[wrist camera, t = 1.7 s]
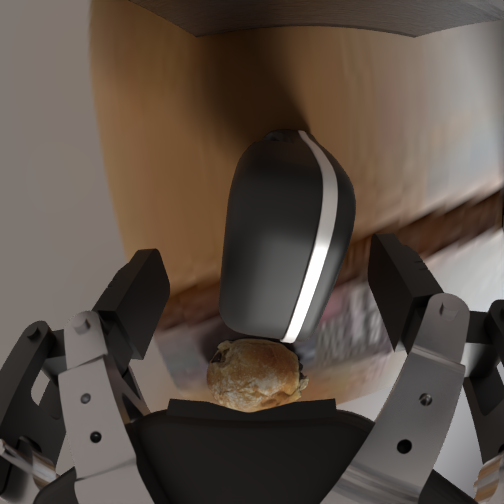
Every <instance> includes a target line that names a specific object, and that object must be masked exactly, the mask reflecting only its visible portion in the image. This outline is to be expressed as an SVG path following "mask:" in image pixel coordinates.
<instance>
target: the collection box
mask: <svg viewBox="0 0 504 504" xmlns="http://www.w3.org/2000/svg"><path fill="white" fill-rule="evenodd" d="M129 1H131V2H133V3H135V4H138V5H140V6H142V7H144V8H146V9H148V10H150V11H152V12H153V13H155V14H157V15H159V16H161V17H163V18H165V19H167V20H168V21H170V22H172V23H174V24H175V25H177V26H179V27H181V28H182V29H184V30H186V31H187V32H189V33H191V34H192V35H194V36H195V37H200V36H205V35H211V34H216V33H223V32H229V31H236V30H245V29H254V28H265V27H282V26H330V27H346V28H357V29H367V30H374V31H381V32H388V33H394V34H399V35H404V36H409V37H418V36H421V35H425V34H429V33H432V32H436V31H440V30H445V29H449V28H453V27H458V26H463V25H468V24H474V23H480V22H487V21H494V20H503V19H504V0H129Z"/></svg>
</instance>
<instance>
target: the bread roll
mask: <svg viewBox="0 0 504 504" xmlns="http://www.w3.org/2000/svg"><path fill="white" fill-rule="evenodd" d="M218 348H219V350H218V351H217V352H216V354H215V355H214V356H213V358H212V360H211V361H210V364H209V366H208V369H207V384H208V387H209V389H210V391H211V393H212V394H213V396H214V398H215V399H216V400H217V401H218V402H220V403H221V404H222V405H224V407H227V408H231V409H235V410H239V411H243V412H255V411H259V410H264V409H268V408H272V407H276V406H280V405H284V404H288V403H291V402H294V401H296V400H297V399H298V398H300V397H301V390H302V389H304V388H306V386H307V383H308V381H309V379H308V376H307V375H306V376H304V375H303V374H302V373H301V372H300V371H301V370H302V368H303V365H302V364H301V363H300V362H299V360H298V357H297V355H296V354H295V353H293V352H292V351H290V350H289V349H287V348H286V347H285V346H284V345H283V344H281V343H275V342H272V341H269V340H266V339H264V340H263V339H254V338H244V339H238V340H236V341H229V340H226V341H224V342H222V343H220V344H219V346H218Z"/></svg>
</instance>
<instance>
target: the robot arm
mask: <svg viewBox="0 0 504 504" xmlns="http://www.w3.org/2000/svg"><path fill="white" fill-rule="evenodd" d="M503 229H504V217H503ZM368 282H369V286H370V288H371V291H372V293H373V296H374V298H375V301H376V303H377V306H378V308H379V311H380V314H381V316H382V319H383V322H384V324H385V327H386V330H387V332H388V335H389V338H390V341H391V344H392V347H393V350H394V352H398V351H404V350H406V353H407V355H408V356H407V358H406V360H405V363H404V365H403V367H402V369H401V371H400V374H399V376H398V378H397V380H396V382H395V384H394V386H393V388H392V390H391V392H390V394H389V396H388V398H387V400H386V402H385V404H384V405H383V408H382V409H381V411H380V413H379V414H378V416H377V418H376V420H375V421H374V422H373V421H371V420H370V419H368V418H366V417H364V416H362V415H359V414H356V413H353V412H349V411H344V410H337V409H336V402H335V399H325V400H315V401H301V402H291V403H288V404H284V405H280V406H276V407H272V408H268V409H264V410H259V411H255V412H243V411H239V410H235V409H231V408H227V407H224V406H220V405H217V404H213V403H210V402H204V401H190V400H179V399H170V401H169V405H168V409H165V410H161V411H156V412H153V413H151V412H150V410H149V409H148V407H147V405H146V403H145V401H144V398H143V396H142V394H141V391H140V389H139V387H138V384H137V382H136V379H135V376H134V374H133V372H132V369H131V367H130V366H129V362H130V360H131V359H138V360H143V359H144V356H145V354H146V351H147V349H148V346H149V344H150V341H151V339H152V336H153V334H154V331H155V329H156V326H157V324H158V321H159V319H160V317H161V314H162V312H163V309H164V307H165V305H166V302H167V300H168V298H169V295H170V283H169V279H168V276H167V273H166V270H165V267H164V264H163V261H162V258H161V255H160V252H159V251H158V250H157V249H143V250H138V251H137V252H136V253H135V255H134V256H133V257H132V259H131V260H130V262H129V263H127V264H126V265H125V266H124V267H122V268H121V269H120V270H119V271H118V272H117V273H116V275H115V276H114V278H113V280H112V281H111V282H110V283H109V285H108V288H106V289H105V291H104V292H103V294H102V295H101V297H100V298H99V300H98V301H97V303H96V304H95V306H94V307H93V309H92V310H91V311H83V312H80V313H78V314H76V315H75V316H73V317H72V318H71V319H70V320H69V321H68V323H67V324H66V326H65V329H62V330H57V331H52V330H51V329H50V327H49V326H48V325H47V323H46V322H45V321H37V322H34V323H32V324H31V325H29V326H28V327H27V328H26V329H25V330H24V332H23V333H22V335H21V337H20V338H19V340H18V341H17V343H16V344H15V346H14V348H13V349H12V351H11V353H10V355H9V356H8V358H7V360H6V361H5V363H4V365H3V367H2V369H1V370H0V499H2V500H4V501H6V502H8V503H9V504H504V385H503V382H502V380H501V377H500V375H499V372H498V370H497V365H498V364H499V362H500V361H501V362H502V364H503V367H504V300H501V299H500V300H496V301H494V302H493V303H492V304H491V306H490V308H489V310H488V312H478V311H469V308H468V306H467V305H466V303H465V302H464V301H463V300H462V299H460V298H459V297H457V296H455V295H453V294H449V293H444V292H443V290H442V288H441V287H440V285H439V284H438V282H437V281H436V279H435V278H434V276H433V275H432V273H431V272H430V270H428V268H427V266H426V265H425V263H423V260H422V259H421V258H420V256H419V255H418V254H417V252H415V251H414V250H413V249H411V248H410V247H408V246H407V245H402V244H401V243H400V241H399V240H398V238H397V237H396V236H395V234H394V233H378V234H373V236H372V240H371V248H370V257H369V265H368ZM40 370H42V371H43V372H44V374H45V375H46V376H47V377H48V378H49V379H50V381H49V383H48V385H47V387H46V390H45V392H44V394H43V397H42V399H41V401H40V404H39V406H38V405H37V404H36V403H35V402H34V401H33V399H32V397H31V388H32V386H33V384H34V382H35V379H36V377H37V376H38V374H39V372H40ZM462 385H463V388H464V391H465V393H466V397H467V400H468V404H469V407H470V410H471V414H472V418H473V421H474V425H475V429H476V433H477V438H478V442H479V446H480V451H481V457H482V462H483V467H482V468H481V470H480V472H479V476H478V479H477V480H476V481H475V483H474V491H475V493H476V495H475V498H474V499H473V498H471V497H470V496H468V495H467V494H466V493H464V492H463V491H462V490H460V489H459V488H458V487H456V486H455V485H453V484H452V483H451V482H449V481H448V480H447V479H445V478H444V477H443V476H442V475H440V474H439V473H438V472H436V471H435V470H434V469H432V468H433V466H434V464H435V462H436V460H437V457H438V455H439V453H440V450H441V448H442V445H443V443H444V440H445V438H446V435H447V432H448V430H449V427H450V424H451V421H452V418H453V415H454V412H455V409H456V406H457V402H458V399H459V395H460V392H461V388H462ZM66 432H67V437H68V441H69V446H70V450H71V454H72V458H73V461H74V465H75V466H74V467H72V468H71V469H70V470H68V471H67V472H65V473H64V474H62V475H61V476H60V475H58V474H57V473H56V472H55V468H56V464H57V460H58V457H59V453H60V450H61V447H62V444H63V441H64V438H65V435H66Z"/></svg>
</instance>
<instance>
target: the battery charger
mask: <svg viewBox="0 0 504 504" xmlns="http://www.w3.org/2000/svg"><path fill="white" fill-rule="evenodd" d="M355 213H356V200H355V194H354V189H353V185H352V183H351V181H350V179H349V177H348V175H347V174H346V172H345V171H344V169H343V168H342V166H341V165H340V164H339V162H338V161H337V160H336V159H335V158H334V157H333V156H332V154H330V153H329V152H328V151H327V150H326V149H325V148H324V147H323V146H321V145H320V144H319V143H318V142H317V141H316V139H315V138H314V136H313V135H312V134H308V133H305V131H301V130H298V131H293V130H275V131H272V132H270V133H268V134H267V135H266V136H265V137H264V139H263V141H258V142H254V143H253V144H252V145H251V146H250V147H248V149H247V150H246V151H245V152H244V154H243V155H242V156H241V158H240V160H239V162H238V164H237V167H236V170H235V173H234V177H233V181H232V185H231V189H230V194H229V199H228V207H227V217H226V226H225V237H224V246H223V256H222V268H221V278H220V290H219V311H220V314H221V318H222V319H223V321H224V322H225V324H226V325H227V326H228V327H229V328H231V329H232V330H234V331H236V332H240V333H243V334H248V335H254V336H261V337H268V338H276V339H280V341H281V342H288V343H293V342H294V341H306V340H308V339H309V338H310V337H311V336H312V335H313V333H314V331H315V329H316V328H317V326H318V323H319V321H320V319H321V317H322V314H323V312H324V310H325V307H326V305H327V303H328V300H329V298H330V295H331V293H332V290H333V288H334V285H335V282H336V280H337V277H338V274H339V272H340V269H341V266H342V263H343V260H344V257H345V255H346V252H347V249H348V246H349V242H350V239H351V235H352V232H353V227H354V221H355Z"/></svg>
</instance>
